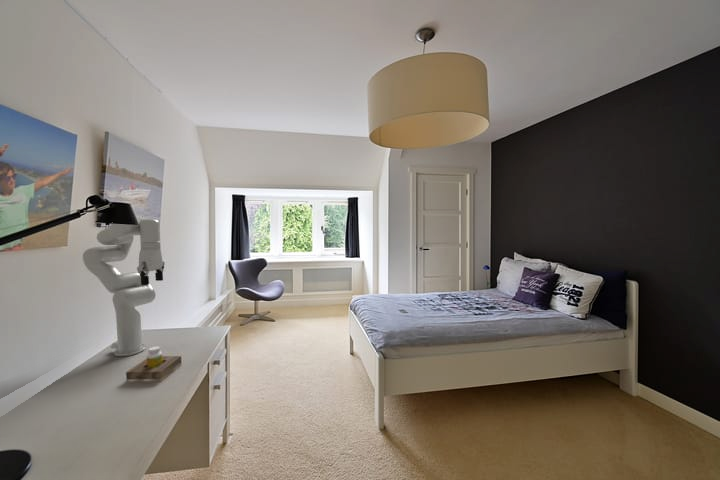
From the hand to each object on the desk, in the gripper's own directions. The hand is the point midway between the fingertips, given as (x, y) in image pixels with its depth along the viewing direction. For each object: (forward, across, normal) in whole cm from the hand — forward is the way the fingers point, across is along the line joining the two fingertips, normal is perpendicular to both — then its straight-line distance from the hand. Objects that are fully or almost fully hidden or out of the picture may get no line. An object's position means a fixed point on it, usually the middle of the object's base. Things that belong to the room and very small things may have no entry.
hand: (152, 282), depth 139 cm
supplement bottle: (+36, +14, +9) cm, 39 cm away
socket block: (+36, +14, +9) cm, 40 cm away
